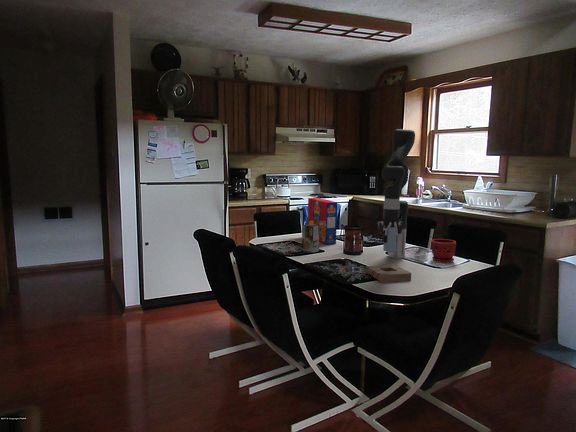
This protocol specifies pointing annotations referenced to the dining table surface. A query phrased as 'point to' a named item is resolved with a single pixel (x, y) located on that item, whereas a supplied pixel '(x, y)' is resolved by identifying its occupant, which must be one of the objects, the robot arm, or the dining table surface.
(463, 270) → the dining table surface
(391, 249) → the peg
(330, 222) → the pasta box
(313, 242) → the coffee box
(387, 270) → the socket block
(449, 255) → the plant pot
